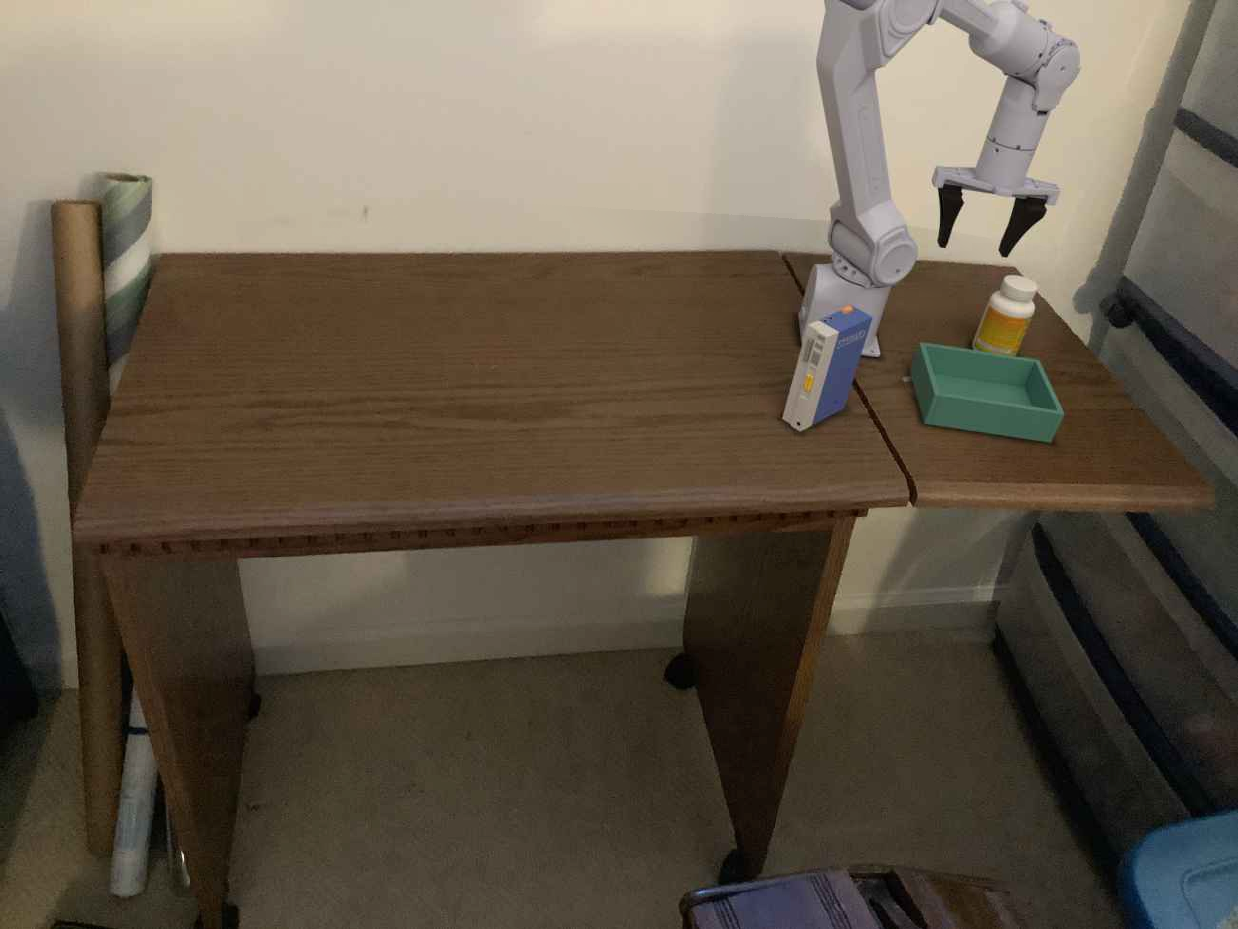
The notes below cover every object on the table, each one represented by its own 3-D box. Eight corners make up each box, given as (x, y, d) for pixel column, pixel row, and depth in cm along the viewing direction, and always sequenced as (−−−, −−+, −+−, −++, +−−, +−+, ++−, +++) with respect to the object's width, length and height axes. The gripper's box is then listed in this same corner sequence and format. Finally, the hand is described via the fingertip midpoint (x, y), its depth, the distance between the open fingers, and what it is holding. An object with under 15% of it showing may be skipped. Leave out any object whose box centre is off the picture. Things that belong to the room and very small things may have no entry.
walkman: (824, 396, 113) (852, 302, 106) (844, 409, 112) (874, 313, 104) (779, 419, 108) (805, 321, 101) (799, 432, 107) (827, 334, 100)
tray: (923, 423, 111) (934, 394, 109) (909, 369, 120) (919, 341, 118) (1051, 442, 111) (1064, 414, 109) (1027, 387, 120) (1039, 359, 118)
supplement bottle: (1016, 367, 124) (1046, 297, 118) (972, 358, 124) (1000, 287, 118) (1012, 346, 128) (1041, 277, 122) (969, 337, 128) (996, 268, 123)
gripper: (955, 143, 113) (918, 254, 121) (1083, 163, 113) (1038, 272, 121) (944, 122, 119) (910, 229, 127) (1066, 141, 119) (1024, 247, 127)
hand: (971, 249), depth 124 cm, fingers open, 7 cm apart
